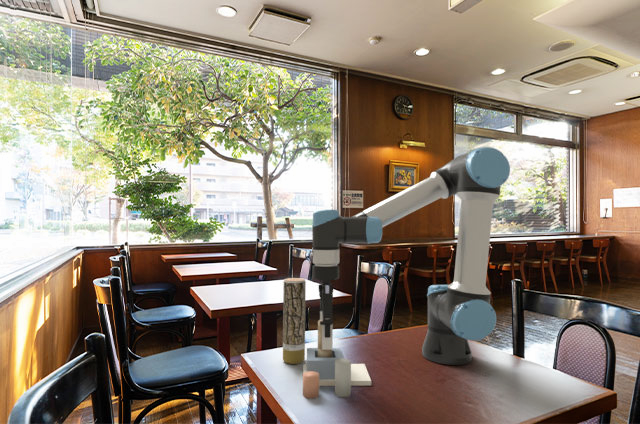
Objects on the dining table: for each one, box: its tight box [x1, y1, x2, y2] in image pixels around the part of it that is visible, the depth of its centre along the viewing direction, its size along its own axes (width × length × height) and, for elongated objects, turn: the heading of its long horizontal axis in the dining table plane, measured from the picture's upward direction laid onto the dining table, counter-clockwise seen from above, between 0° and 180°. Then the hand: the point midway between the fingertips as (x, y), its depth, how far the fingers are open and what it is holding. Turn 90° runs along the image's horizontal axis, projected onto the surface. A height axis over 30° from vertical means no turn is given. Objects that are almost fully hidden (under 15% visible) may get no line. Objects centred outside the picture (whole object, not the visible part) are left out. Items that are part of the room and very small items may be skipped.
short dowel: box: [302, 371, 320, 399], centre depth 94 cm, size 4×4×5 cm
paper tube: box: [282, 277, 307, 365], centre depth 117 cm, size 7×7×25 cm
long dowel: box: [317, 319, 332, 358], centre depth 106 cm, size 4×4×14 cm
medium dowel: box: [334, 357, 352, 398], centre depth 95 cm, size 4×4×8 cm
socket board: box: [302, 347, 372, 387], centre depth 105 cm, size 18×12×6 cm, turn 92°
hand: (325, 341), depth 105 cm, fingers open, 13 cm apart
